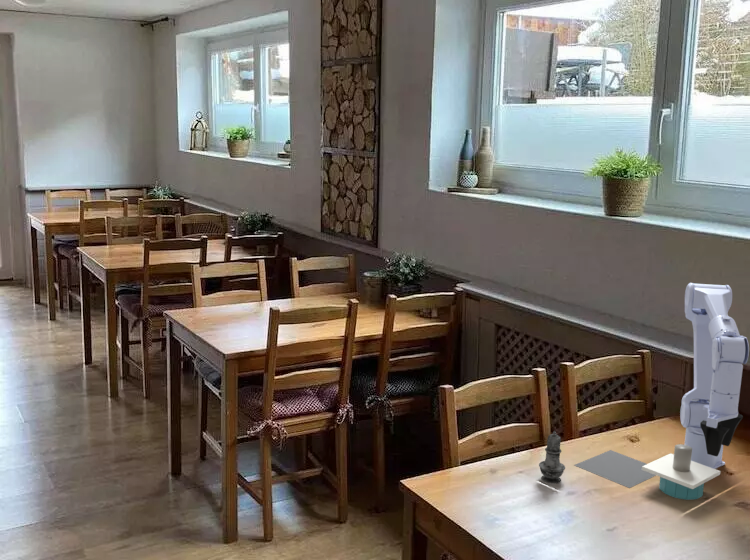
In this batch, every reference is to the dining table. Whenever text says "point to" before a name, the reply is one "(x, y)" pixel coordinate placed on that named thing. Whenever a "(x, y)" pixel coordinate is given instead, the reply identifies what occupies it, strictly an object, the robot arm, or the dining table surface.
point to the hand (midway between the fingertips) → (718, 449)
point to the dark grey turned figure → (552, 461)
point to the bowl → (680, 490)
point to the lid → (681, 468)
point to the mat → (617, 468)
